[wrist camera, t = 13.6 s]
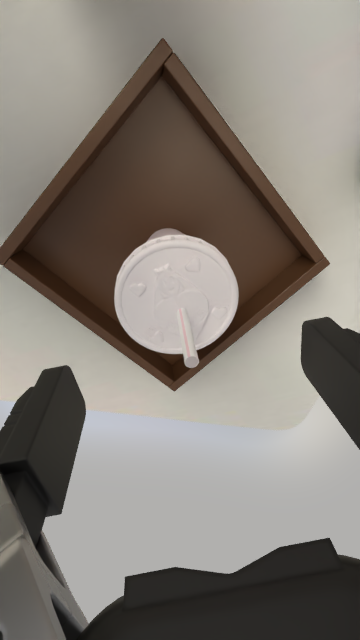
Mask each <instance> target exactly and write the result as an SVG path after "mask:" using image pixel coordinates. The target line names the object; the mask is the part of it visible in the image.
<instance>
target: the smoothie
mask: <svg viewBox="0 0 360 640" xmlns="http://www.w3.org/2000/svg"><path fill="white" fill-rule="evenodd" d="M238 297H239V293H238V285H237V281H236V277H235V275H234V273H233V271H232V269H231V267H230V265H229V263H228V261H227V259H226V258H225V257H224V256H223V255H222V254H221V253H220V252H219V251H218V249H217V248H216V247H214V246H213V245H211V244H209V243H207V242H206V241H204V240H202V239H200V238H196V237H192V236H188V235H185V234H183V233H182V232H180V231H178V230H175V229H171V228H165V229H161V230H158V231H156V232H155V233H154V234H152V235H151V236H150V238H149V239H148V240H147V242H146V243H144V244H143V245H141V246H139V247H138V248H136V249H135V250H134V251H133V252H132V253H131V254H130V256H129V257H128V258H127V259H126V260H125V261H124V263H123V265H122V267H121V269H120V271H119V273H118V275H117V279H116V285H115V295H114V303H115V310H116V314H117V317H118V319H119V321H120V323H121V325H122V327H123V328H124V330H125V331H126V332H127V334H128V335H129V336H130V337H131V338H132V339H134V340H135V341H136V342H137V343H139V344H140V345H142V346H144V347H146V348H148V349H150V350H153V351H156V352H160V353H166V354H183V356H184V362H185V365H186V366H187V367H189V368H194V367H196V366H197V365H198V363H199V359H198V355H197V351H196V350H199V349H201V348H204V347H206V346H207V345H209V344H211V343H212V342H214V341H215V340H216V339H218V338H219V337H220V336H221V335H222V334H223V333H224V332H225V331H226V329H227V328H228V327H229V325H230V323H231V322H232V320H233V318H234V316H235V313H236V310H237V306H238Z"/></svg>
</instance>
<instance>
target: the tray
mask: <svg viewBox="0 0 360 640" xmlns="http://www.w3.org/2000/svg"><path fill="white" fill-rule="evenodd" d="M165 228H171V229H175V230H178V231H180V232H182V233H183V234H185V235H188V236H192V237H196V238H200V239H202V240H204V241H206V242H207V243H209V244H211V245H213V246H214V247H216V248H217V249H218V251H219V252H220V253H221V254H222V255H223V256H224V257H225V258H226V259H227V261H228V263H229V265H230V267H231V269H232V271H233V273H234V275H235V277H236V281H237V285H238V293H239V297H238V306H237V310H236V313H235V316H234V318H233V320H232V322H231V323H230V325H229V327H228V328H227V329H226V331H225V332H224V333H223V334H222V335H221V336H220V337H219V338H218V339H216V340H215V341H214V342H212V343H211V344H209V345H207V346H206V347H204V348H201V349H199V350H196V351H197V355H198V359H199V363H198V365H197V366H196V367H194V368H189V367H187V366H186V365H185V362H184V356H183V354H166V353H160V352H156V351H153V350H150V349H148V348H146V347H144V346H142V345H140V344H139V343H137V342H136V341H135V340H134V339H132V338H131V337H130V336H129V335H128V334H127V332H126V331H125V330H124V328H123V327H122V325H121V323H120V321H119V319H118V317H117V314H116V310H115V303H114V295H115V285H116V279H117V275H118V273H119V271H120V269H121V267H122V265H123V263H124V261H125V260H126V259H127V258H128V257H129V256H130V254H131V253H132V252H133V251H134V250H135V249H136V248H138V247H139V246H141V245H143V244H144V243H146V242H147V240H148V239H149V238H150V236H151V235H152V234H154V233H155V232H156V231H158V230H161V229H165ZM0 264H1V265H4V267H5V268H7V269H8V270H9V271H11V272H12V273H13V274H15V275H16V276H17V277H19V278H20V279H22V280H23V281H24V282H26V283H27V284H28V285H30V286H31V287H32V288H34V289H35V290H37V291H38V292H39V293H41V294H42V295H43V296H45V297H46V298H48V299H49V300H50V301H52V302H53V303H54V304H56V305H57V306H58V307H60V308H61V309H63V310H64V311H65V312H67V313H68V314H69V315H71V316H72V317H73V318H75V319H76V320H78V321H79V322H80V323H82V324H83V325H84V326H86V327H87V328H88V329H90V330H91V331H93V332H94V333H95V334H97V335H98V336H99V337H101V338H102V339H104V340H105V341H106V342H108V343H109V344H110V345H112V346H113V347H114V348H116V349H117V350H119V351H120V352H121V353H123V354H124V355H125V356H127V357H128V358H129V359H131V360H132V361H134V362H135V363H136V364H138V365H139V366H140V367H142V368H143V369H145V370H146V371H147V372H149V373H150V374H151V375H153V376H154V377H155V378H157V379H158V380H160V381H161V382H162V383H164V384H165V385H166V386H168V387H169V388H170V389H172V390H173V391H176V390H177V389H178V388H179V387H181V386H182V385H183V384H184V383H185V382H187V381H188V380H189V379H190V378H192V377H193V376H194V375H195V374H196V373H198V372H199V371H200V370H201V369H202V368H204V367H205V366H206V365H207V364H209V363H210V362H211V361H212V360H213V359H215V358H216V357H217V356H218V355H220V354H221V353H222V352H223V351H224V350H226V349H227V348H228V347H229V346H231V345H232V344H233V343H234V342H235V341H237V340H238V339H239V338H240V337H242V336H243V335H244V334H245V333H246V332H248V331H249V330H250V329H251V328H253V327H254V326H255V325H256V324H257V323H259V322H260V321H261V320H262V319H264V318H265V317H266V316H267V315H268V314H270V313H271V312H272V311H273V310H274V309H276V308H277V307H278V306H279V305H281V304H282V303H283V302H284V301H285V300H287V299H288V298H289V297H290V296H292V295H293V294H294V293H295V292H296V291H298V290H299V289H300V288H301V287H303V286H304V285H305V284H306V283H307V282H309V281H310V280H311V279H312V278H314V277H315V276H316V275H317V274H318V273H320V272H321V271H322V270H323V269H325V268H326V267H327V266H328V265H329V264H330V263H329V261H328V260H327V259H326V257H324V255H323V253H322V252H321V251H320V249H319V248H318V247H317V245H316V244H315V243H314V241H313V240H312V238H311V237H310V236H309V234H308V233H307V232H306V230H305V229H304V228H303V226H302V225H301V224H300V222H299V221H298V219H297V218H296V217H295V215H294V214H293V213H292V211H291V210H290V209H289V207H288V206H287V205H286V203H285V202H284V201H283V199H282V198H281V196H280V195H279V194H278V192H277V191H276V190H275V188H274V187H273V186H272V184H271V183H270V182H269V180H268V179H267V177H266V176H265V175H264V173H263V172H262V171H261V169H260V168H259V167H258V165H257V164H256V163H255V161H254V160H253V159H252V157H251V156H250V154H249V153H248V152H247V150H246V149H245V148H244V146H243V145H242V144H241V142H240V141H239V140H238V138H237V137H236V135H235V134H234V133H233V131H232V130H231V129H230V127H229V126H228V125H227V123H226V122H225V121H224V119H223V118H222V117H221V115H220V114H219V112H218V111H217V110H216V108H215V107H214V106H213V104H212V103H211V102H210V100H209V99H208V98H207V96H206V95H205V93H204V92H203V91H202V89H201V88H200V87H199V85H198V84H197V83H196V81H195V80H194V79H193V77H192V76H191V75H190V73H189V72H188V70H187V69H186V68H185V66H184V65H183V64H182V62H181V61H180V60H179V58H178V57H177V56H176V54H175V53H173V51H172V49H171V47H170V46H169V45H168V43H167V42H166V41H165V39H164V38H162V39H161V40H160V41H159V43H158V44H157V45H156V47H155V48H154V49H153V51H152V52H151V53H150V54H149V56H148V57H147V58H146V60H145V61H144V62H143V63H142V65H141V66H140V67H139V69H138V70H137V71H136V73H135V74H134V75H133V76H132V78H131V79H130V80H129V82H128V83H127V84H126V85H125V87H124V88H123V89H122V91H121V92H120V93H119V95H118V96H117V97H116V98H115V100H114V101H113V102H112V104H111V105H110V106H109V107H108V109H107V110H106V111H105V113H104V114H103V115H102V117H101V118H100V119H99V120H98V122H97V123H96V124H95V126H94V127H93V128H92V130H91V131H90V132H89V133H88V135H87V136H86V137H85V139H84V140H83V141H82V142H81V144H80V145H79V146H78V148H77V149H76V150H75V152H74V153H73V154H72V155H71V157H70V158H69V159H68V161H67V162H66V163H65V164H64V166H63V167H62V168H61V170H60V171H59V172H58V174H57V175H56V176H55V177H54V179H53V180H52V181H51V183H50V184H49V185H48V186H47V188H46V189H45V190H44V192H43V193H42V194H41V196H40V197H39V198H38V199H37V201H36V202H35V203H34V205H33V206H32V207H31V208H30V210H29V211H28V212H27V214H26V215H25V216H24V218H23V219H22V220H21V221H20V223H19V224H18V225H17V227H16V228H15V229H14V230H13V232H12V233H11V234H10V236H9V237H8V238H7V240H6V241H5V242H4V243H3V245H2V246H1V247H0Z"/></svg>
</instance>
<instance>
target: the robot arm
mask: <svg viewBox="0 0 360 640" xmlns="http://www.w3.org/2000/svg"><path fill="white" fill-rule="evenodd" d="M301 364H302V368H303V371H304V373H305V375H306V377H307V378H308V379H309V381H310V382H311V384H312V385H313V386H314V388H315V389H316V390H317V392H318V393H319V395H320V396H321V397H322V398H323V400H324V401H325V403H326V404H327V406H328V407H329V408H330V410H331V411H332V412H333V414H334V415H335V416H336V418H337V419H338V421H339V422H340V423H341V425H342V426H343V428H344V429H345V430H346V432H347V433H348V434H349V436H350V437H351V439H352V440H353V441H354V443H355V444H356V445H357V447H358V448H359V449H360V334H359V333H357V332H355V331H352V330H350V329H348V328H346V329H342V328H341V327H340V326H339V325H338V324H337V323H335V322H334V321H333V320H332V319H331V318H329V317H324V318H319V319H314V320H308V321H305V322H304V323H303V325H302V342H301ZM10 414H11V415H9V416H8V418H7V420H6V422H5V423H4V425H5V426H4V427H2V429H1V431H0V640H360V560H359V559H356V558H352V557H348V556H344V555H338V554H337V552H336V550H335V548H334V546H333V544H332V542H331V540H330V538H326V539H320V540H315V541H310V542H305V543H299V544H294V545H289V546H284V547H279V548H277V549H276V550H274V551H272V552H270V553H268V554H267V555H265V556H263V557H261V558H260V559H258V560H256V561H254V562H252V563H251V564H249V565H247V566H245V567H243V568H242V569H240V570H238V571H236V572H234V573H231V574H223V573H215V572H208V571H201V570H192V569H184V568H178V567H174V568H168V569H163V570H158V571H153V572H147V573H142V574H138V575H133V576H127V577H125V589H124V596H122V597H120V598H118V599H117V600H116V601H114V602H113V603H112V604H110V605H109V606H107V607H106V608H105V609H104V610H103V611H102V612H101V613H99V615H97V616H96V617H95V618H94V619H93V620H92V621H91V622H90V623H88V622H87V620H86V618H85V616H84V614H83V612H82V611H81V609H80V607H79V606H78V604H77V602H76V601H75V599H74V597H73V595H72V593H71V591H70V589H69V587H68V585H67V582H66V580H65V578H64V576H63V574H62V572H61V570H60V567H59V565H58V563H57V561H56V559H55V556H54V554H53V552H52V550H51V548H50V545H49V543H48V541H47V539H46V537H45V535H44V533H43V532H42V527H43V523H44V520H45V517H48V516H53V515H59V514H61V513H62V509H63V505H64V501H65V497H66V493H67V488H68V485H69V480H70V477H71V473H72V469H73V465H74V461H75V456H76V452H77V448H78V444H79V440H80V436H81V432H82V428H83V424H84V420H85V415H86V407H85V401H84V398H83V396H82V394H81V391H80V389H79V387H78V384H77V382H76V379H75V377H74V375H73V372H72V370H71V368H70V367H69V366H67V365H66V366H60V367H55V368H50V369H45V370H43V371H42V373H41V375H40V377H39V379H38V381H37V383H36V385H35V387H30V388H29V389H28V390H27V391H26V392H25V393H24V394H23V395H22V396H21V397H20V398H19V399H18V400H17V401H16V403H15V405H14V407H13V409H12V411H11V412H10Z"/></svg>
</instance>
